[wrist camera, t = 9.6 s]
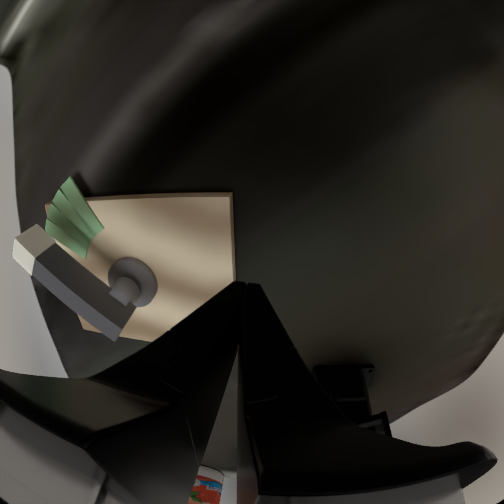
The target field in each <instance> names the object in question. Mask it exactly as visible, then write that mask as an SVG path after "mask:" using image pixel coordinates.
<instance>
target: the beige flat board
mask: <svg viewBox="0 0 504 504" xmlns="http://www.w3.org/2000/svg"><path fill="white" fill-rule="evenodd" d="M61 189H62V190H61ZM61 189H59V190H58V192H57V193H56V195H55V197H54V199H53V201H51V202H49V203H47V204H45V208H46V213H47V217H48V218H47V219H46V226H45V232H46V233H47V234H49V235H50V236H51V237H52V238H53V239H54V240H55V241H56V243H57V244H58V245H59V246H60V247H61V248H62V249H64V250H65V251H66V252H67V253H68V254H69V255H71V256H72V257H73V258H74V259H75V260H77V261H78V262H79V263H80V264H81V265H83V266H84V267H85V268H86V269H87V270H89V271H90V272H91V273H92V274H94V275H95V276H96V277H97V278H99V279H100V280H101V281H103V282H104V283H105V284H106V285H108V286H109V287H110V286H111V285H112V283H113V282H114V281H115V280H116V279H117V278H118V277H128V278H130V279H131V280H133V281H134V282H135V283H136V284H137V286H138V287H139V290H140V297H139V299H138V300H137V301H136V303H135V304H134V305H135V306H136V307H137V308H136V309H135V311H134V313H133V314H132V316H131V318H130V319H129V321H128V322H127V324H126V325H125V327H124V328H123V330H122V331H121V333H120V335H119V336H121V337H126V338H132V339H138V340H144V341H151V342H152V341H154V340H155V339H157V338H158V337H160V336H161V335H162V334H164V333H165V332H166V331H168V330H169V331H170V329H171V328H172V327H173V326H175V325H176V324H177V323H179V322H180V321H181V320H183V319H184V318H185V317H187V316H188V315H189V314H190V313H192V312H193V311H194V310H196V309H197V308H198V307H200V306H201V305H202V304H204V303H205V302H206V301H208V300H209V299H210V298H212V297H213V296H214V295H216V294H217V293H218V292H220V291H221V290H222V289H224V288H225V287H226V286H227V285H229V284H230V283H231V282H233V281H236V269H235V246H234V221H233V193H232V192H208V193H160V194H136V195H117V196H101V197H87V198H84V196H83V195H82V193H81V192H80V190H79V188H78V187H77V185H76V183H75V182H74V180H73V178H72V177H71V176H70V177H69V178H68V179H67V180H66V181H65V183H64V184H63V185H62V186H61ZM78 316H79V315H78ZM79 319H80V321H81V324H82V326H83V328H84V329H86V330H90V331H95V332H100V331H99V330H98V329H96V328H95V327H94V326H92V325H91V324H90V323H88V322H87V321H86V320H84V319H83V318H82V317H81V316H79ZM100 333H102V332H100ZM237 351H238V350H237Z"/></svg>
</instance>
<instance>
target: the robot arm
mask: <svg viewBox="0 0 504 504" xmlns="http://www.w3.org/2000/svg"><path fill="white" fill-rule="evenodd" d="M238 346H239V348H238ZM237 350H238V397H237V504H465V500H464V495H463V490H462V489H463V488H464V487H466V486H468V485H469V484H471V483H472V482H474V481H475V480H477V479H478V478H480V477H481V476H482V475H484V474H485V473H486V472H488V471H489V470H490V469H491V468H492V467H493V466H494V465H495V464H496V463H497V460H498V459H497V458H496V456H495V455H494V454H493V452H491V451H490V450H489V449H487V448H486V447H484V446H481V445H478V444H475V443H472V442H469V441H468V442H460V443H455V444H451V445H447V446H441V447H431V446H422V445H417V444H413V443H410V442H406V441H403V440H400V439H396V438H393V437H392V434H391V430H390V426H389V421H388V417H387V413H386V411H383V412H381V413H380V414H376V415H373V416H372V411H371V406H370V401H369V396H368V391H367V389H368V386H369V384H370V382H371V379H372V377H373V375H374V372H375V367H374V366H373V365H362V366H317V367H315V368H314V369H313V372H312V373H311V372H310V371H309V369H308V368H307V366H306V365H305V363H304V361H303V360H302V358H301V357H300V355H299V353H298V351H297V349H296V348H295V346H294V344H293V343H292V341H291V339H290V337H289V335H288V334H287V332H286V330H285V328H284V327H283V325H282V323H281V321H280V319H279V318H278V316H277V314H276V312H275V310H274V309H273V307H272V305H271V303H270V301H269V300H268V298H267V296H266V294H265V292H264V291H263V289H262V287H261V285H260V284H256V283H247V284H246V283H245V282H239V281H233V282H231V283H230V284H229V285H227V286H226V287H225V288H224V289H222V290H221V291H220V292H218V293H217V294H216V295H214V296H213V297H212V298H210V299H209V300H208V301H206V302H205V303H204V304H202V305H201V306H200V307H198V308H197V309H196V310H194V311H193V312H192V313H190V314H189V315H188V316H187V317H185V318H184V319H183V320H181V321H180V322H179V323H177V324H176V325H175V326H173V327H172V328H171V329H170V331H169V330H168V331H166V332H165V333H164V334H162V335H161V336H160V337H158V338H157V339H155V340H154V341H152V342H151V343H150V344H148V345H147V346H145V347H143V348H142V349H140V350H138V351H137V352H135V353H133V354H132V355H130V356H128V357H126V358H125V359H123V360H121V361H119V362H118V363H116V364H114V365H112V366H111V367H109V368H107V369H105V370H103V371H102V372H100V373H98V374H96V375H93V376H90V377H87V378H80V379H71V378H57V377H44V376H35V375H27V374H19V373H14V372H9V371H5V370H1V369H0V504H187V503H188V500H189V497H190V494H191V492H192V489H193V486H194V483H195V480H196V477H197V474H198V471H199V468H200V465H201V462H202V459H203V456H204V453H205V450H206V447H207V444H208V441H209V438H210V435H211V432H212V429H213V426H214V423H215V420H216V416H217V413H218V410H219V407H220V404H221V401H222V398H223V395H224V392H225V389H226V386H227V382H228V379H229V376H230V373H231V370H232V367H233V364H234V360H235V357H236V354H237ZM497 504H504V500H502V501H501V502H499V503H497Z"/></svg>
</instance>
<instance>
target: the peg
mask: <svg viewBox="0 0 504 504" xmlns="http://www.w3.org/2000/svg"><path fill="white" fill-rule="evenodd" d="M13 258H14V259H15V260H16V261H17V262H18V263H19V264H20V265H21V266H22V267H23V268H24V269H25V270H26V271H27V272H28V273H29V274H30V275H31V276H32V275H33V276H34V277H35V278H36V279H37V280H38V281H39V282H41V283H42V284H43V285H44V286H45V287H46V288H47V289H48V290H49V291H51V292H52V293H53V294H54V295H55V296H56V297H57V298H59V299H60V300H61V301H62V302H63V303H65V304H66V305H67V306H68V307H69V308H71V309H72V310H73V311H74V312H76V313H77V314H78V315H79V316H81V317H82V318H83V319H84V320H86V321H87V322H88V323H90V324H91V325H92V326H94V327H95V328H96V329H98V330H99V331H100V332H102V333H103V334H104V335H106V336H107V337H108V338H110V339H111V340H113V341H114V342H115V341H116V339H117V338H118V336H119V335H120V333H121V331H122V330H123V328H124V327H125V325H126V324H127V322H128V321H129V319H130V318H131V316H132V314H133V313H134V311H135V309H136V308H137V307H136V306H135V305H134V304H135V303H136V301H137V300H138V299H139V297H140V290H139V287H138V286H137V284H136V283H135V282H134V281H133V280H131V279H130V278H128V277H118V278H117V279H116V280H115V281H114V282H113V283H112V285H111V286H110V287H109V286H108V285H106V284H105V283H104V282H103V281H101V280H100V279H99V278H97V277H96V276H95V275H94V274H92V273H91V272H90V271H89V270H87V269H86V268H85V267H84V266H83V265H81V264H80V263H79V262H78V261H77V260H75V259H74V258H73V257H72V256H71V255H69V254H68V253H67V252H66V251H65V250H64V249H62V248H61V247H60V246H59V245H58V244H57V243H56V241H55V240H54V239H53V238H52V237H51V236H50V235H49V234H47V233H46V232H45V231H44V230H43V229H42V228H41V227H40V226H39V225H38V224H36V225H34V226H33V227H31V228H29V229H28V230H26V231H25V232H23V233H22V234H20V235H19V236H17V237H16V238H15V240H14V247H13Z"/></svg>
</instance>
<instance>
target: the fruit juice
mask: <svg viewBox="0 0 504 504" xmlns="http://www.w3.org/2000/svg"><path fill="white" fill-rule="evenodd" d="M223 479H224V478H223V474H222V473H220V472H219V471H217V470H215V469H212V468H209V467H206V466H201V465H200V468H199V471H198V474H197V477H196V480H195V483H194V486H193V489H192V492H191V494H190V497H189V500H188V503H187V504H219V502H220V497H221V491H222V486H223Z"/></svg>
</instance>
